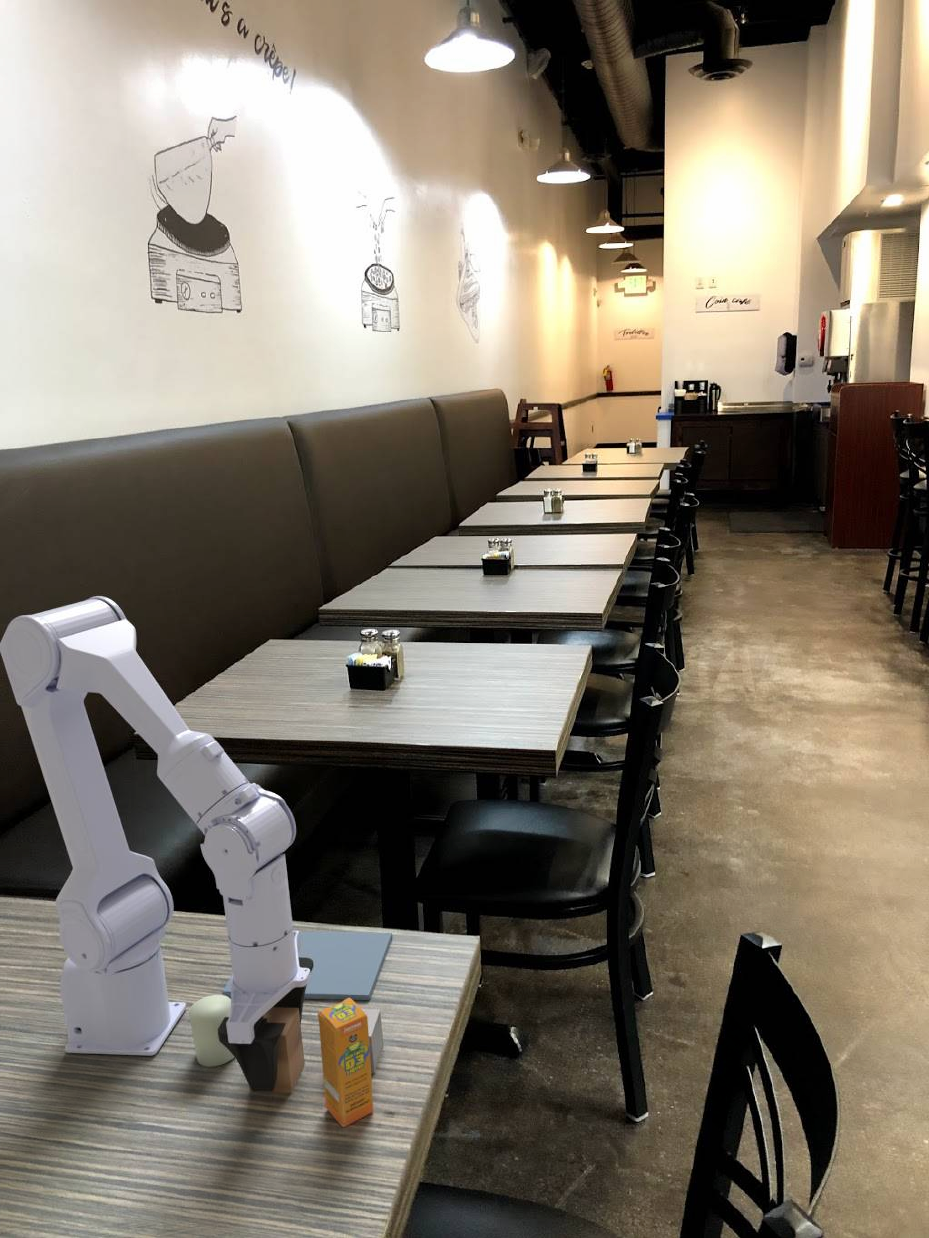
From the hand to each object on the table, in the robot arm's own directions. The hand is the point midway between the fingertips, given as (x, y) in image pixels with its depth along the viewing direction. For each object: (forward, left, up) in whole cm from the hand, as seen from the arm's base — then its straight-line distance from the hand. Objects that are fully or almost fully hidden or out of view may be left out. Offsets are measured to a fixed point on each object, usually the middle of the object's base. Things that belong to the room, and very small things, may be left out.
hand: (276, 1061), depth 90 cm
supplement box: (+8, -4, -2) cm, 9 cm away
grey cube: (+7, +3, -2) cm, 8 cm away
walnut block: (0, 0, -2) cm, 2 cm away
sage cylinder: (-7, +3, -2) cm, 8 cm away
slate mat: (-2, +18, -2) cm, 18 cm away
